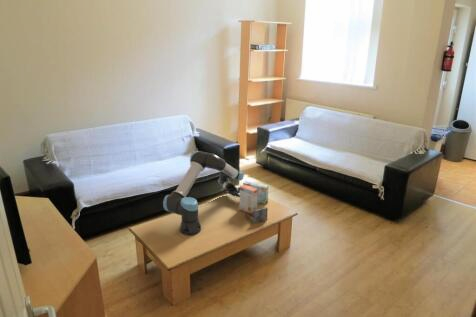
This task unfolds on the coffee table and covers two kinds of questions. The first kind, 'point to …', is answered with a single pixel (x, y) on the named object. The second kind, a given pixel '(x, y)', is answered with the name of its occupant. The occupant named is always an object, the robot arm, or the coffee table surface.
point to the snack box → (259, 191)
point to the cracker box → (248, 199)
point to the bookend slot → (257, 215)
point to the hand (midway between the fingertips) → (242, 197)
